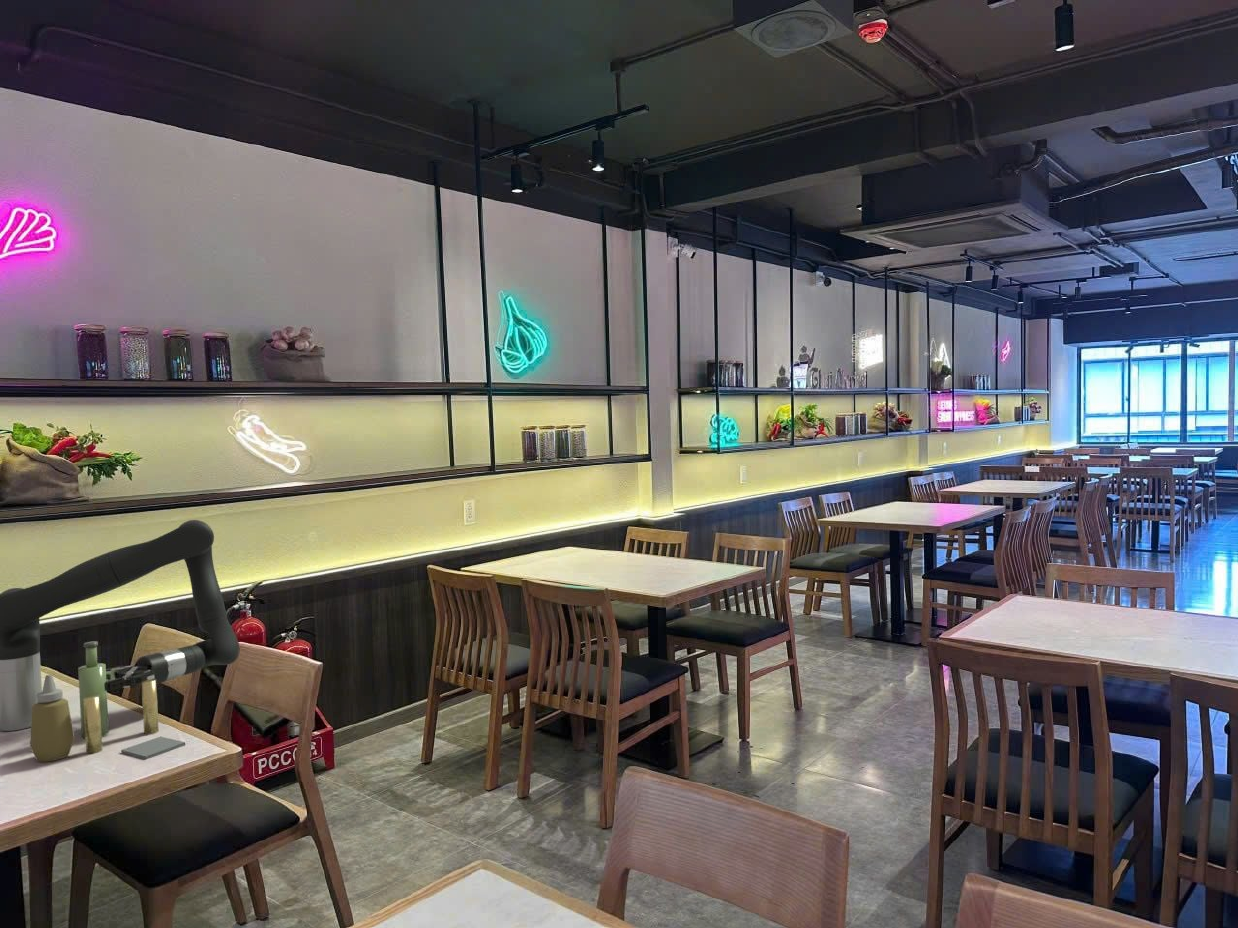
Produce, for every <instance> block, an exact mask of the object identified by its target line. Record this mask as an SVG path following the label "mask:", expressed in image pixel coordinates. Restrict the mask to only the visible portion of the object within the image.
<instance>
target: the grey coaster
mask: <svg viewBox="0 0 1238 928" xmlns="http://www.w3.org/2000/svg"><path fill="white" fill-rule="evenodd" d="M183 746H186V742H185V741H181V740H178V739H177V740H176V739H172V738H170V737H169V738H168V737H165V736H157V737H155V738H152V739H149V740H146V741H143V742H141V743H138V744H135V745H131V746H129V747H127V748H123V749H121V750H120V752H121V754H123V755H129V756H133V757H135V758H139V759H140V758H141V759H143V760H148V759H150V758H153V757H156V756H158V755H161V754H164V753H167V752H171V751H172V750H175V749H178V748H180V747H183Z"/></svg>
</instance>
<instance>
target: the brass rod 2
mask: <svg viewBox="0 0 1238 928" xmlns="http://www.w3.org/2000/svg"><path fill="white" fill-rule="evenodd" d="M141 684H142V685H141V697H142V719H143V734H144V735H153V734H156V733H158V732H159V731H160V730H159V728H160V727H159V712H158V710H159V709H158V691H157V684H156V680H146V681H143V682H141Z"/></svg>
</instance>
